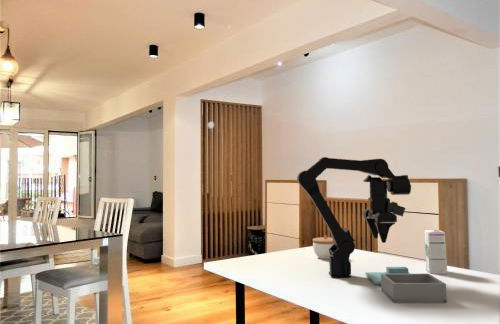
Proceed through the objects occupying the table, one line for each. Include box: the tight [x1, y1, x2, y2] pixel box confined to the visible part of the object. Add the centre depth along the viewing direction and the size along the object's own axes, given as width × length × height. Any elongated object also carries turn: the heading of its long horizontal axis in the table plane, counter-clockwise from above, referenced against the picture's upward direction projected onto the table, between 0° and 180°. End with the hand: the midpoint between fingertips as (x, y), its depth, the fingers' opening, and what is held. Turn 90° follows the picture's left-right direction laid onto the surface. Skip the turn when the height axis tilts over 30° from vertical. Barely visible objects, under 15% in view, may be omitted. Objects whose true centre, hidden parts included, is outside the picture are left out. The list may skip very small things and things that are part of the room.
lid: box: [365, 266, 411, 286], centre depth 124 cm, size 15×12×6 cm
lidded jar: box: [312, 234, 334, 260], centre depth 162 cm, size 11×11×9 cm
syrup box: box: [424, 229, 448, 275], centre depth 135 cm, size 6×6×14 cm
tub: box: [380, 273, 448, 304], centre depth 108 cm, size 14×11×5 cm
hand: (379, 240), depth 131 cm, fingers open, 9 cm apart
